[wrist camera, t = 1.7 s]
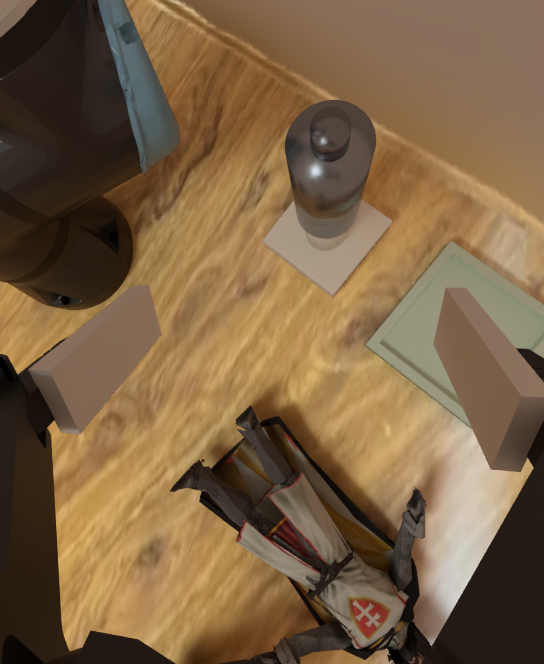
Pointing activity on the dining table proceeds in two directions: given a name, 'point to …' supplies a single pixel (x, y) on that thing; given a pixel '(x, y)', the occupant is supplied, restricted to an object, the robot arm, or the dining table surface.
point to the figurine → (317, 545)
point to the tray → (423, 314)
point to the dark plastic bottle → (329, 165)
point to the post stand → (327, 246)
